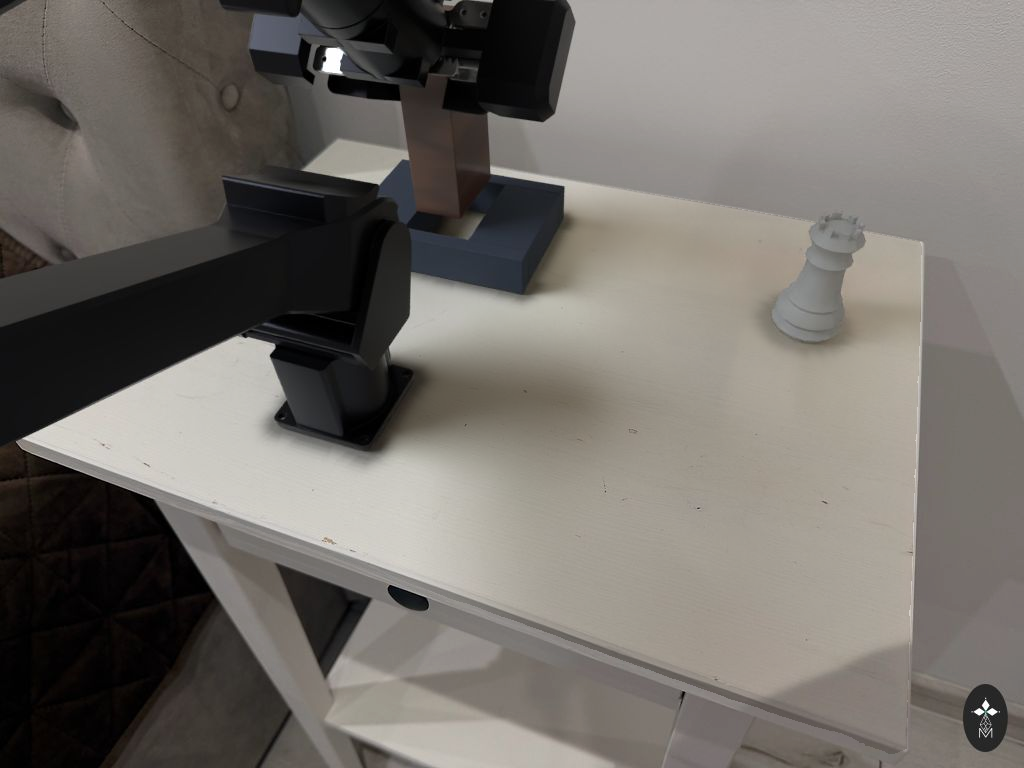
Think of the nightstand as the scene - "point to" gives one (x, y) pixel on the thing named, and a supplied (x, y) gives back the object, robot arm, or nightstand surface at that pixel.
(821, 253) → the rook chess piece
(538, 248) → the blue rectangular frame
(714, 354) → the nightstand surface
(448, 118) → the brown wooden block
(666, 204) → the nightstand surface
